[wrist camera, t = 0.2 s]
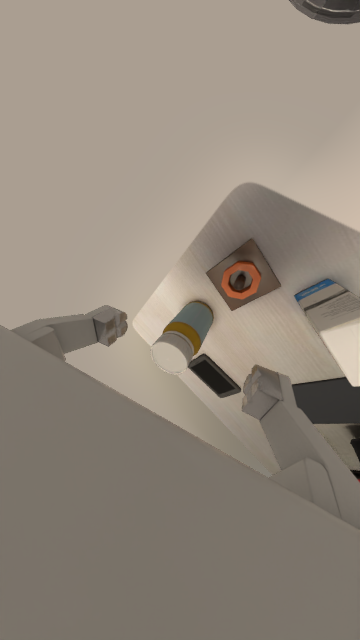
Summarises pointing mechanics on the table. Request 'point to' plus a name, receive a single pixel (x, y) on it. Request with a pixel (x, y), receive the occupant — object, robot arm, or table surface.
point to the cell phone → (213, 376)
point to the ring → (247, 291)
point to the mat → (329, 401)
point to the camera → (356, 446)
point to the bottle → (182, 338)
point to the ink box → (335, 323)
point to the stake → (244, 275)
